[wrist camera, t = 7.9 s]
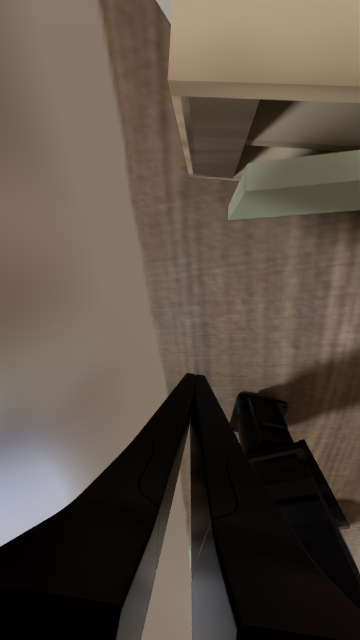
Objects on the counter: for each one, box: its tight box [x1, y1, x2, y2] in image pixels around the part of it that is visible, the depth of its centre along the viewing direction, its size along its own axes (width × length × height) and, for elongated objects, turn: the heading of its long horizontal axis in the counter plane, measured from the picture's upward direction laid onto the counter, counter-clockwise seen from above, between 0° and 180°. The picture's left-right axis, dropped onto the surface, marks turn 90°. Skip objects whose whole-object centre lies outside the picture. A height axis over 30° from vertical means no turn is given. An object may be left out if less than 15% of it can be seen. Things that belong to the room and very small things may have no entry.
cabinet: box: [168, 0, 360, 181], centre depth 10 cm, size 9×16×10 cm, turn 83°
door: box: [228, 150, 360, 220], centre depth 12 cm, size 1×12×9 cm, turn 92°
